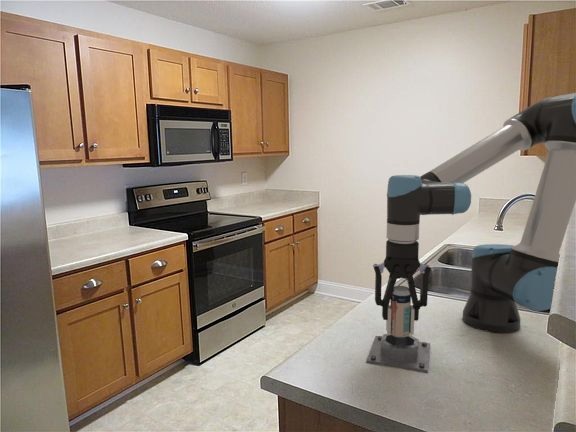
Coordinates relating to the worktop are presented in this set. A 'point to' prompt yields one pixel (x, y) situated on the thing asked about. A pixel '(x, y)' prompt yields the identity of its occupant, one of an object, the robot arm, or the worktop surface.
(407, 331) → the beer can
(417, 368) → the duct flange
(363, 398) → the worktop surface
